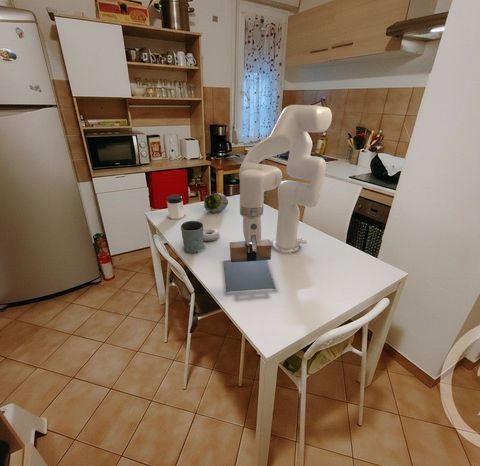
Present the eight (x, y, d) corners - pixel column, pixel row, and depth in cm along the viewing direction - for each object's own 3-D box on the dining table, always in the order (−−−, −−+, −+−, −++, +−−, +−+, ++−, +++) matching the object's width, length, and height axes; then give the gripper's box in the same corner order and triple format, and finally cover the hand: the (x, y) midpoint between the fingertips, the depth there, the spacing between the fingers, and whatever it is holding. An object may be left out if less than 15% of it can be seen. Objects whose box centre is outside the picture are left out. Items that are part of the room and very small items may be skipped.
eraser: (268, 253, 95) (269, 239, 93) (270, 259, 92) (271, 245, 89) (229, 256, 94) (229, 241, 91) (231, 262, 90) (230, 247, 88)
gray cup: (192, 241, 128) (190, 218, 122) (209, 246, 123) (208, 223, 118) (178, 250, 120) (175, 226, 115) (195, 256, 116) (193, 232, 110)
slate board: (265, 260, 113) (265, 258, 113) (275, 290, 96) (275, 288, 95) (223, 262, 112) (223, 260, 111) (226, 294, 94) (226, 291, 94)
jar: (176, 212, 159) (173, 193, 154) (186, 214, 156) (185, 195, 150) (165, 217, 152) (163, 198, 147) (176, 220, 149) (174, 200, 143)
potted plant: (232, 205, 161) (220, 206, 148) (217, 215, 167) (204, 218, 154) (223, 188, 162) (210, 188, 149) (208, 199, 168) (195, 200, 155)
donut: (197, 234, 134) (200, 243, 126) (197, 228, 133) (200, 237, 124) (217, 232, 137) (221, 241, 128) (216, 226, 135) (220, 234, 127)
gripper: (268, 219, 77) (265, 270, 86) (258, 199, 92) (256, 244, 100) (243, 221, 76) (243, 271, 85) (236, 200, 91) (237, 245, 100)
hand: (250, 256), depth 93 cm, fingers closed on eraser, 4 cm apart
